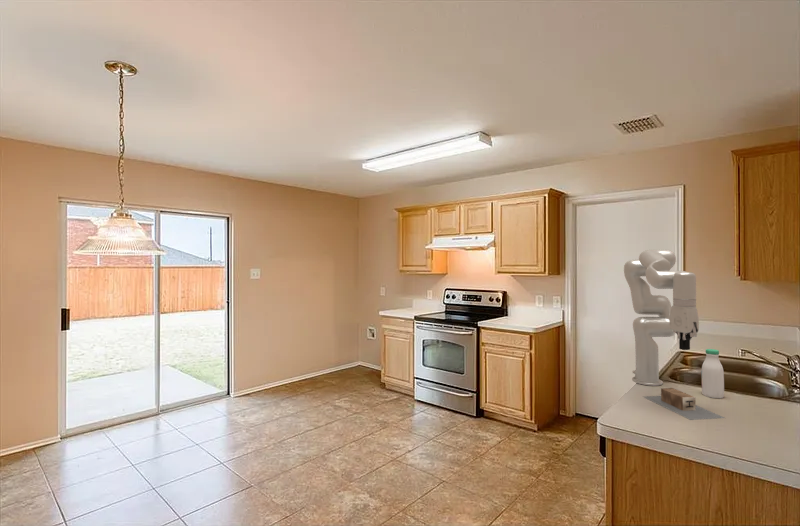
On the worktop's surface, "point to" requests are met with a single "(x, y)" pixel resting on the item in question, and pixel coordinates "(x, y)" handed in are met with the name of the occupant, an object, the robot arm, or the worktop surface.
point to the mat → (691, 414)
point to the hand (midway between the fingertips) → (684, 349)
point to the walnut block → (678, 399)
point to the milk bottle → (712, 375)
